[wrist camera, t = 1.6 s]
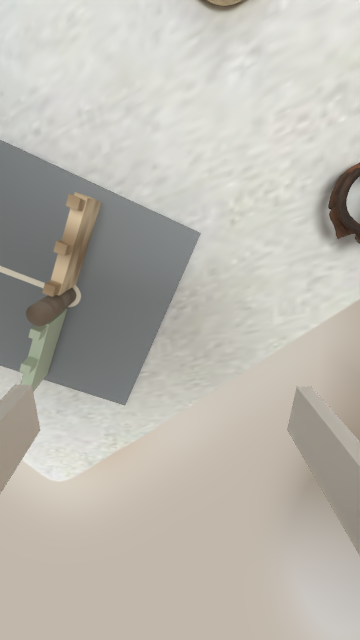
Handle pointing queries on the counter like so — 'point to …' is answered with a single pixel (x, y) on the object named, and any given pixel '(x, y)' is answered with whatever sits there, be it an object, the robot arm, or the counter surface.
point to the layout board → (85, 275)
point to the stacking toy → (224, 2)
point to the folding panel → (41, 351)
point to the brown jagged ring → (344, 205)
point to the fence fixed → (67, 260)
